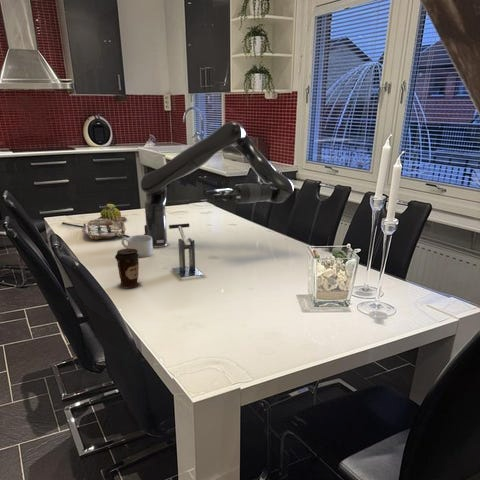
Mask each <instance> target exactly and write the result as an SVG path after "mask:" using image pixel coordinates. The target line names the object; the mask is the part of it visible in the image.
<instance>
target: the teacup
mask: <svg viewBox="0 0 480 480" xmlns="http://www.w3.org/2000/svg"><path fill="white" fill-rule="evenodd" d="M120 241H121V245H122V246H123V247H124V249H127V248H129V249H136V250H137V251H138V252H137V253H138V254H139V257H138V259H140V258H141V259H143V258H146V257H149V256H150V254H152V252H153V250H154V249H153V248H154V247H153V245H152V237H151V236H148V235H144V234H136V235H135V234H134V235H131V237H129V238H128V237H125V236H124V237H122V239H121V240H120ZM125 241H126V242H127V244H126V243H125Z"/></svg>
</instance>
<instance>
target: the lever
mask: <svg viewBox="0 0 480 480" xmlns="http://www.w3.org/2000/svg"><path fill="white" fill-rule="evenodd" d="M183 228H190V223H178V224H169V225H168V229H169V230H172V229H178V231H179V233H180V236H181V239H182V240H183V241H184V247H185V250H189V249H190V245H191V244H190V241H189V239H188V238H187V237H186V234H185V232H184V229H183Z"/></svg>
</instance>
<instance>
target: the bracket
mask: <svg viewBox="0 0 480 480" xmlns="http://www.w3.org/2000/svg"><path fill="white" fill-rule="evenodd" d="M187 239H189V241H190V244H191V245H190V249H188V266H186V253H185V252H186V249H185V247H184V241H183V239H182V238H178V261H179V262H178V265H179V266H178V267H172V270H173V271H174V273H176V274H177V275H178V277H180V279H181V278H188V277H196V276H204V274H203V272H202V271H200V270H199V269H198V268H197V267H196V252H195V251H196V250H195V247H196V245H195V244H196V243H195V239H194V238H192V237H188V238H187Z"/></svg>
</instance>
